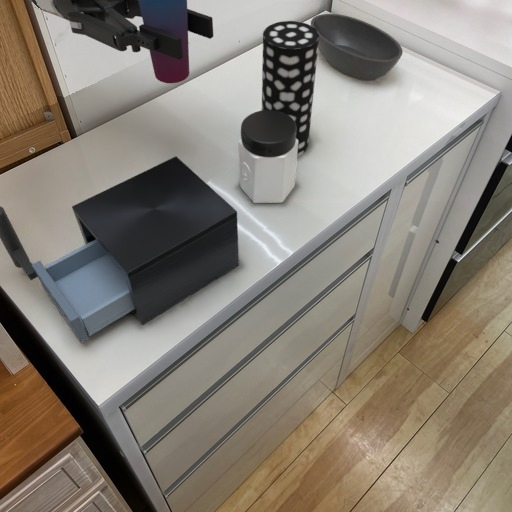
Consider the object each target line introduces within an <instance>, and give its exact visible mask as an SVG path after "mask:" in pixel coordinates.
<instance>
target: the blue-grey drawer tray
mask: <svg viewBox="0 0 512 512" xmlns="http://www.w3.org/2000/svg"><path fill="white" fill-rule="evenodd" d="M0 241H1V243H2V244H3V246H4V248H5V250H6V252H7V254H8V255H9V258H10V259H11V261H12V263H13V265H14V266H15V268H18V269H22V270H23V272H24V274H25V275H26V276H27V278H28V280H30V281H33V280H35V279H36V278H37V279H38V281H39V282H40V285H41V287H42V289H43V290H44V292H45V293H46V294H47V296H48V297H49V299H50V300H51V302H52V304H54V306H55V307H56V309H57V310H58V312H59V313H60V315H61V316H62V318H63V319H64V321H65V322H66V323H67V325H68V326H69V328H70V330H71V331H72V332H73V334H74V335H75V336H76V338H77V339H78V341H79V342H80V344H82V343H84V342H87V340H89V339H90V337H89V336H92V335H94V334H95V333H98V332H99V331H101V330H103V329H104V328H105V327H107V326H109V325H111V324H112V323H114V322H115V321H118V320H119V319H120V318H122V317H124V316H125V315H127V314H129V313H132V310H134V309H135V308H134V305H133V302H132V298H131V295H130V292H129V288H128V285H127V282H126V278H125V275H124V272H123V271H122V270H121V269H120V267H119V266H118V265H117V264H116V263H115V261H114V260H113V259H112V258H111V256H110V255H109V254H108V253H107V252H106V250H105V249H104V248H103V247H102V246H101V244H100V243H99V242H98V241H97V239H95V240H94V241H92V242H90V243H88V244H84V245H82V246H80V247H78V248H76V249H74V250H73V251H71V252H69V253H66V254H64V255H63V256H61V257H59V258H57V259H55V260H53V261H51V262H49V263H47V264H46V265H43V263H42V262H41V261H40V260H38V261H36V262H34V263H32V262H31V261H30V258H29V256H28V253H27V252H26V250H25V248H24V246H23V243H22V242H21V240H20V238H19V236H18V234H17V232H16V230H15V228H14V226H13V224H12V222H11V220H10V218H9V217H8V214H7V212H6V210H5V208H4V207H3V206H1V205H0Z"/></svg>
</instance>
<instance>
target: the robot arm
mask: <svg viewBox="0 0 512 512" xmlns="http://www.w3.org/2000/svg"><path fill="white" fill-rule="evenodd" d="M29 1H30V2H33V3H34V4H35V5H36V6H37V7H38V8H37V9H39V8H40V9H39V10H41V11H42V10H43V11H42V12H45V13H49V14H50V15H53V16H56V17H59V18H61V19H64V20H66V21H68V22H69V25H70V29H71V32H72V33H73V34H77V35H81V36H86V37H88V38H91V39H93V40H95V41H97V42H99V43H101V44H103V45H106V46H108V47H110V48H112V49H114V50H117V51H119V52H125V51H127V50H128V47H129V46H130V47H131V52H132V53H139V52H141V50H142V49H141V48H144V49H145V50H148V51H149V50H152V51H157V52H160V53H163V54H165V55H168V56H170V57H173V58H176V59H178V60H180V59H182V58H183V52H182V43H181V38H180V37H177V36H174V35H172V34H169V33H166V32H163V31H161V30H158V29H155V28H152V27H149V26H147V25H144V24H143V23H142V24H140V25H138V27H137V25H136V24H134V23H133V22H131V21H130V20H133V19H134V18H135V17H138V18H139V17H140V18H142V15H141V10H140V6H139V1H138V0H29ZM37 4H38V5H37ZM187 16H188V33H189V32H190V33H192V34H194V35H195V34H196V35H198V36H201V37H203V38H206V39H207V38H208V39H209V40H210V39H212V38H213V37H214V23H213V22H214V21H213V17H212V16H209V15H206V14H204V13H201V12H197V11H195V10H193V9H190V8H187ZM128 19H129V20H128Z"/></svg>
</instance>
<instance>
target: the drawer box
mask: <svg viewBox="0 0 512 512" xmlns="http://www.w3.org/2000/svg"><path fill="white" fill-rule="evenodd" d="M71 209H72V211H73V214H74V216H75V220H76V223H77V225H78V227H79V230H80V233H81V236H82V238H83V242H84V245H86V244H88V243H90V242H92V241H94V240H95V239H97V241H98V242H99V243H100V244H101V246H102V247H103V248H104V249H105V250H106V252H107V253H108V254H109V255H110V256H111V258H112V259H113V260H114V261H115V263H116V264H117V265H118V266H119V267H120V269H121V270H122V271H123V272H124V275H125V278H126V282H127V285H128V288H129V292H130V295H131V298H132V302H133V305H134V308H135V309H134V310H132V311H131V313H132V314H133V315H134V317H135V318H136V319H137V320H138V322H139V323H140V324H141V325H143V326H144V325H145V324H146V323H148V322H150V321H151V320H153V319H155V318H156V317H158V316H159V315H161V314H163V313H165V312H166V311H168V310H170V309H171V308H172V307H174V306H176V305H177V304H179V303H180V302H182V301H184V300H185V299H188V298H189V297H190V296H192V295H193V294H195V293H196V292H198V291H200V290H202V289H204V288H205V287H207V286H209V284H211V283H213V282H214V281H216V280H217V279H219V278H221V277H222V276H225V275H226V274H228V273H229V272H231V271H233V270H234V269H235V268H237V267H239V266H240V262H239V261H240V260H239V258H240V257H239V231H238V230H239V229H238V211H237V210H236V209H235V208H234V207H233V206H232V205H230V204H229V202H227V200H226V199H224V198H223V197H222V196H221V195H220V194H219V193H217V192H216V191H215V190H214V189H213V188H212V187H211V186H210V185H208V183H206V182H205V181H204V180H203V179H202V178H201V177H200V176H199V175H197V173H195V172H194V171H193V170H192V168H190V167H189V166H188V165H187V164H186V163H184V161H182V159H180V158H179V157H178V156H176V155H175V156H173V157H171V158H169V159H167V160H164V161H163V162H161V163H159V164H157V165H155V166H153V167H150V168H149V169H147V170H144V171H142V172H140V173H138V174H136V175H134V176H132V177H130V178H128V179H126V180H123V181H122V182H120V183H118V184H116V185H114V186H112V187H109V188H106V189H105V190H103V191H101V192H99V193H97V194H95V195H93V196H91V197H88V198H86V199H84V200H82V201H80V202H78V203H76V204H74V205H72V206H71Z"/></svg>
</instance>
